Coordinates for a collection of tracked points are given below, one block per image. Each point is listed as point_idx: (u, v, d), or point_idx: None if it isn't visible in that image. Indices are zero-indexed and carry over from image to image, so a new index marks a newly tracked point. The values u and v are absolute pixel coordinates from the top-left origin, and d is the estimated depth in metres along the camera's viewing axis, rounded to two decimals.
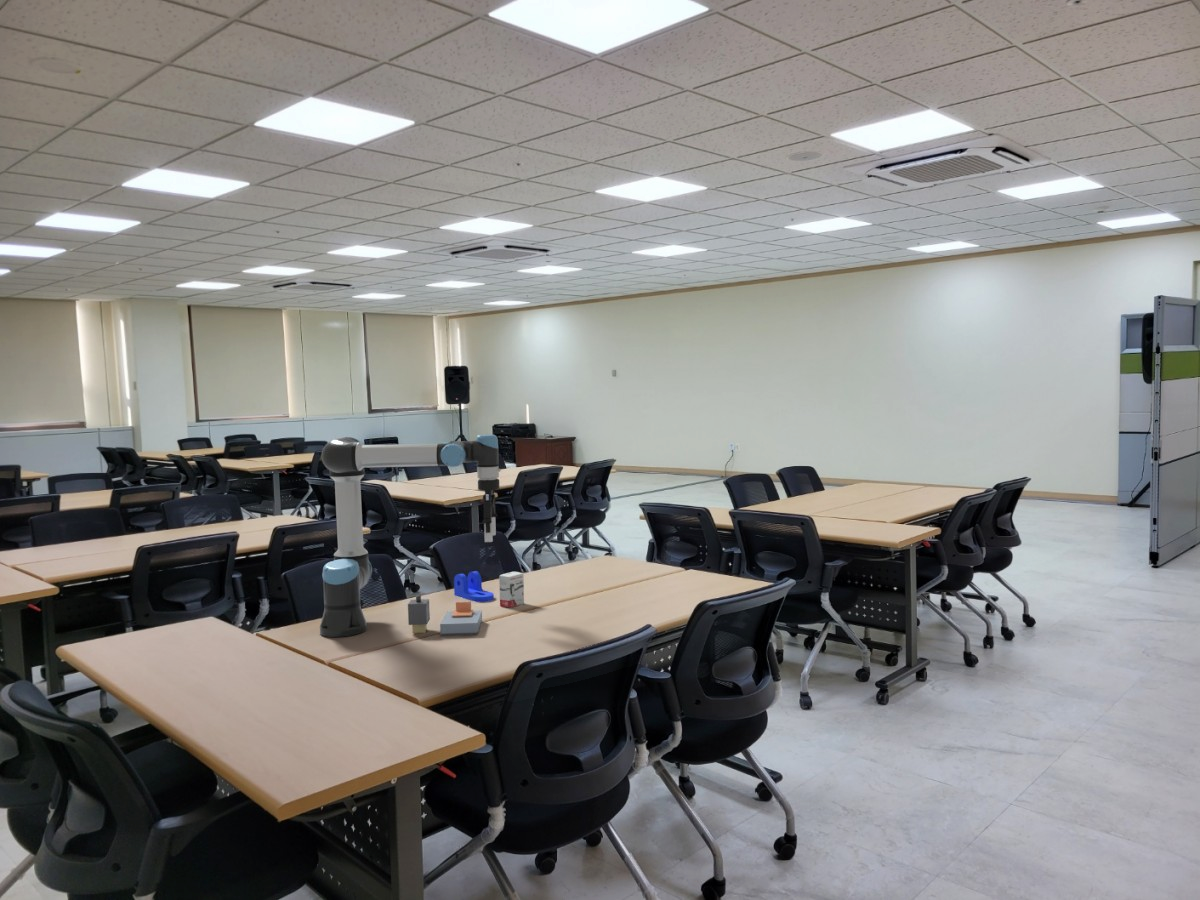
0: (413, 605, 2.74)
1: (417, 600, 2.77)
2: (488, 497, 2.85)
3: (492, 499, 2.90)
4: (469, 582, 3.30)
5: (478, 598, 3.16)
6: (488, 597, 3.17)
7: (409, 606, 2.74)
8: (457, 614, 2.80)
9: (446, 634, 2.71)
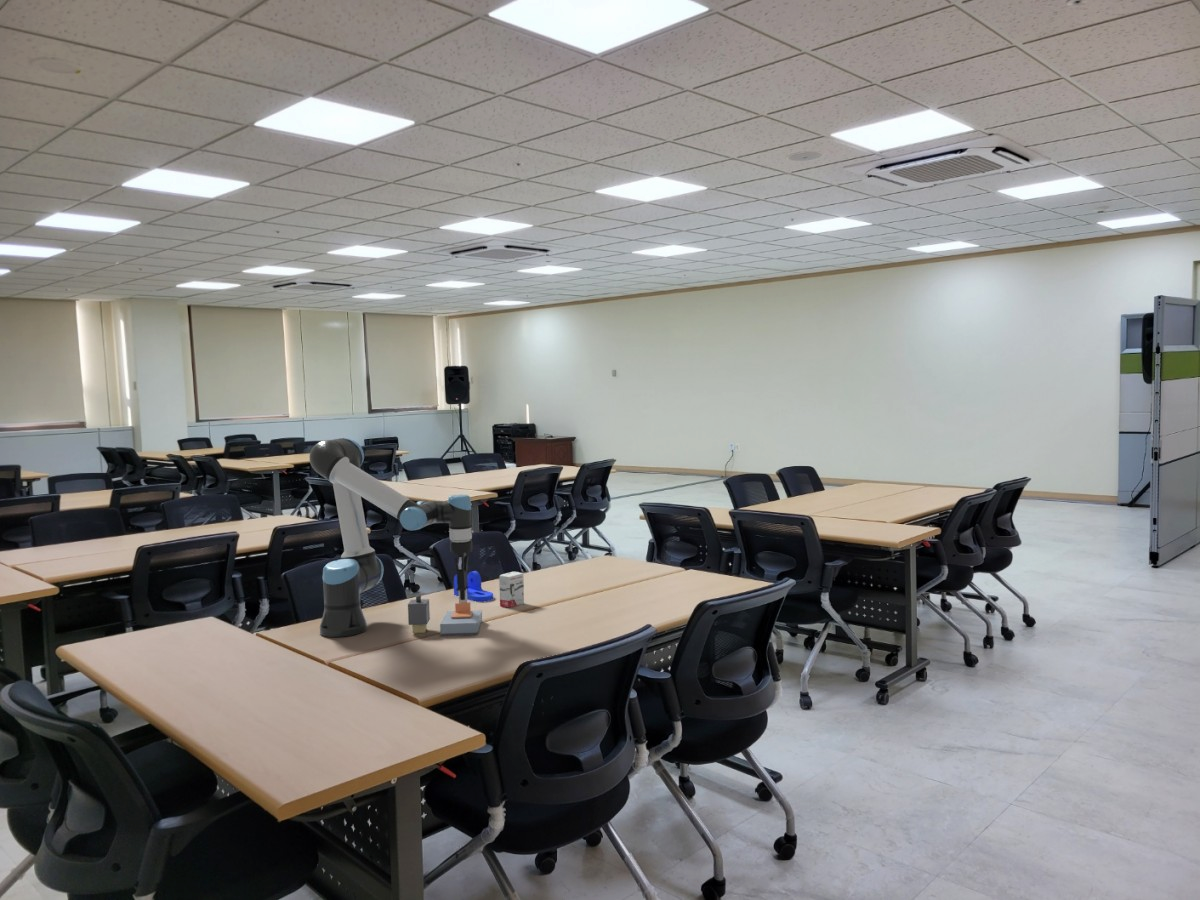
0: (413, 605, 2.74)
1: (417, 600, 2.77)
2: (461, 568, 2.78)
3: (465, 563, 2.82)
4: (469, 582, 3.30)
5: (478, 598, 3.16)
6: (488, 597, 3.17)
7: (409, 606, 2.74)
8: (456, 615, 2.78)
9: (446, 634, 2.71)
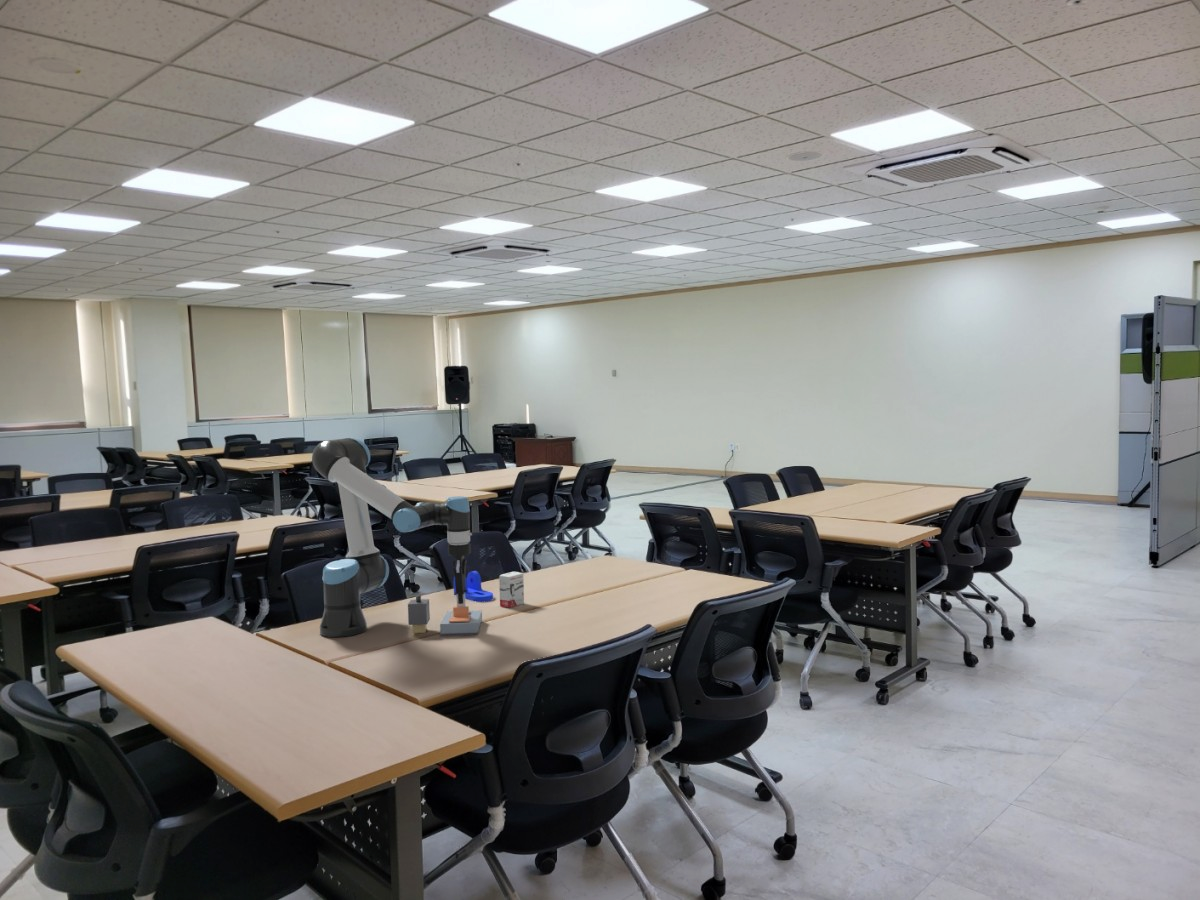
0: (413, 605, 2.74)
1: (417, 600, 2.77)
2: (459, 571, 2.73)
3: (463, 566, 2.77)
4: (469, 582, 3.31)
5: (477, 598, 3.16)
6: (487, 597, 3.17)
7: (409, 606, 2.74)
8: (454, 619, 2.73)
9: (446, 634, 2.71)
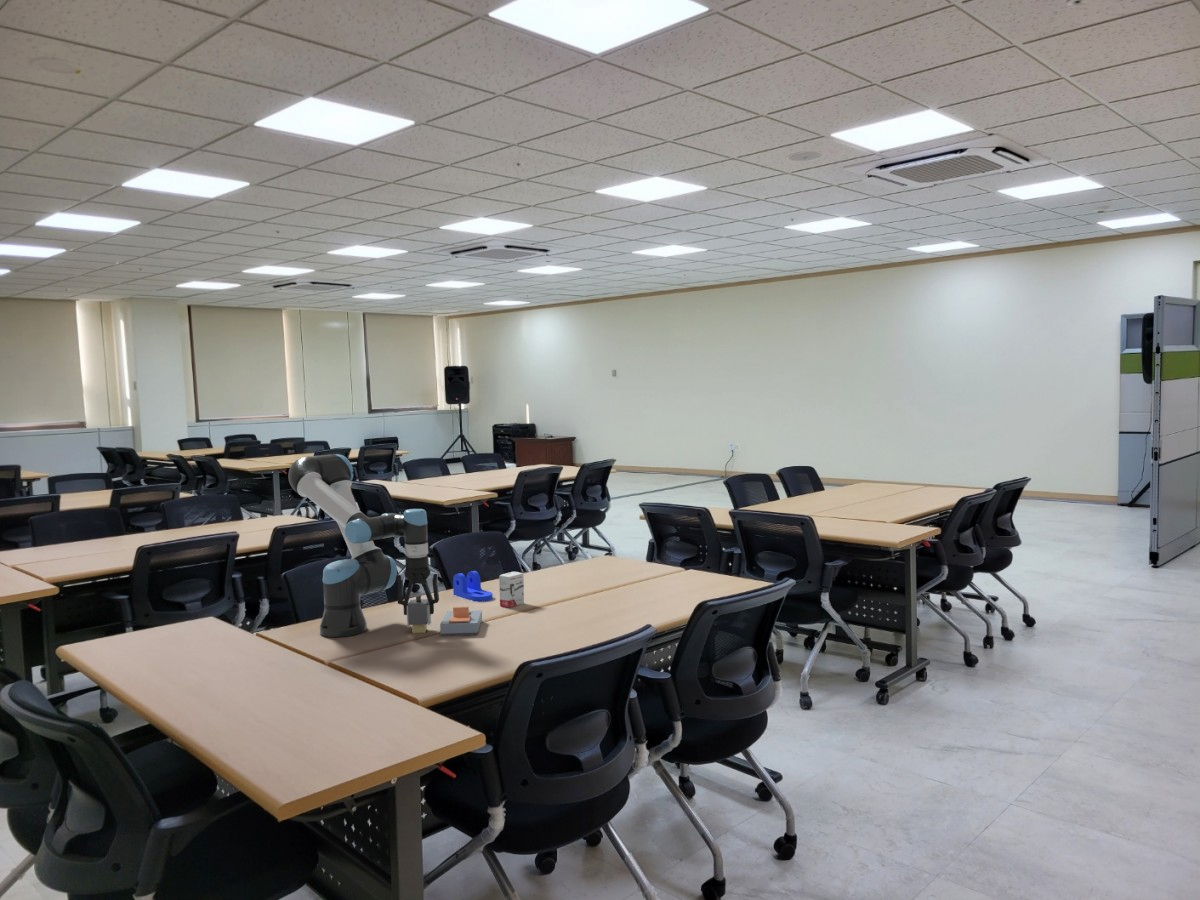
0: (413, 605, 2.74)
1: (417, 600, 2.77)
2: None
3: (410, 579, 2.75)
4: (468, 582, 3.31)
5: (477, 598, 3.16)
6: (487, 597, 3.17)
7: (409, 606, 2.74)
8: (454, 620, 2.73)
9: (446, 634, 2.71)
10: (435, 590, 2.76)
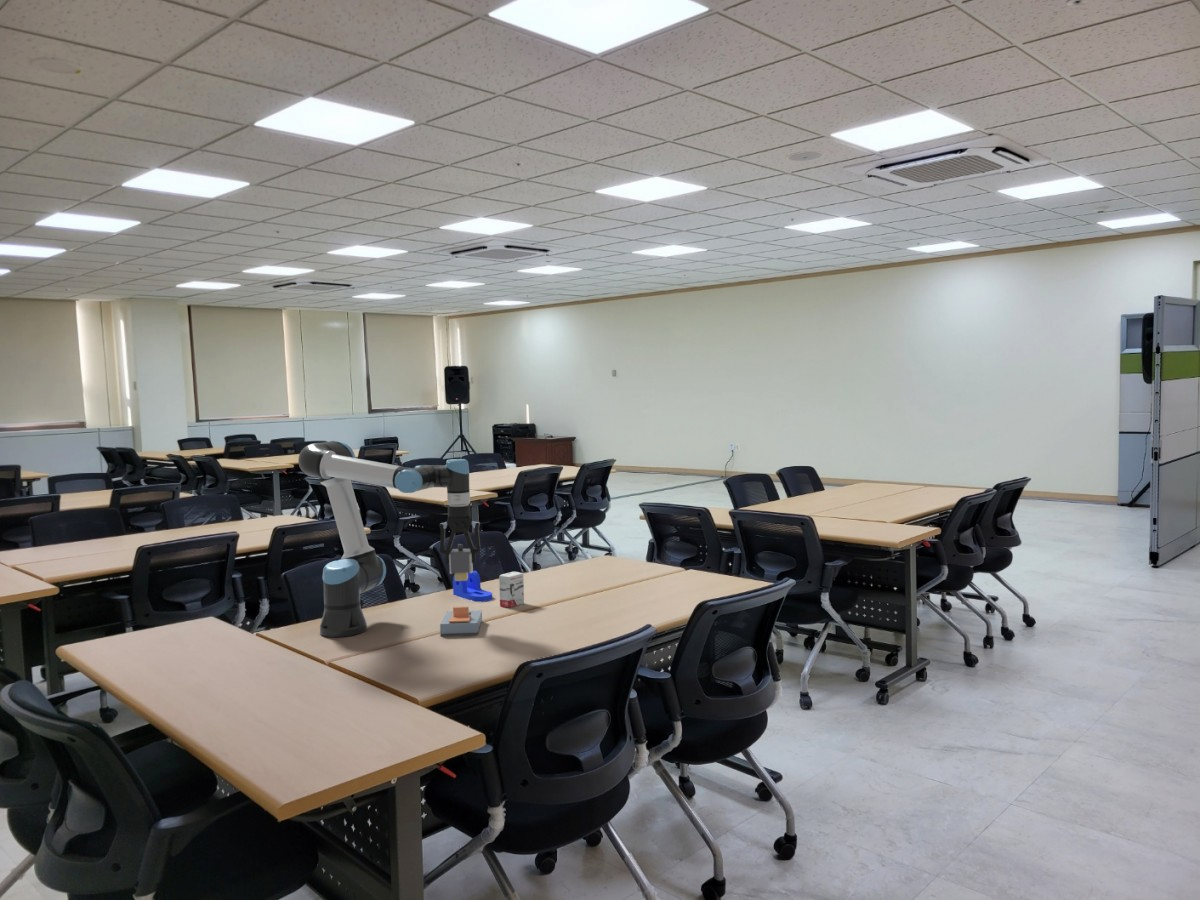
0: (455, 553, 2.78)
1: (459, 549, 2.80)
2: None
3: None
4: (468, 582, 3.31)
5: (477, 598, 3.17)
6: (487, 597, 3.17)
7: (452, 554, 2.78)
8: (454, 620, 2.73)
9: (446, 634, 2.71)
10: (477, 539, 2.80)
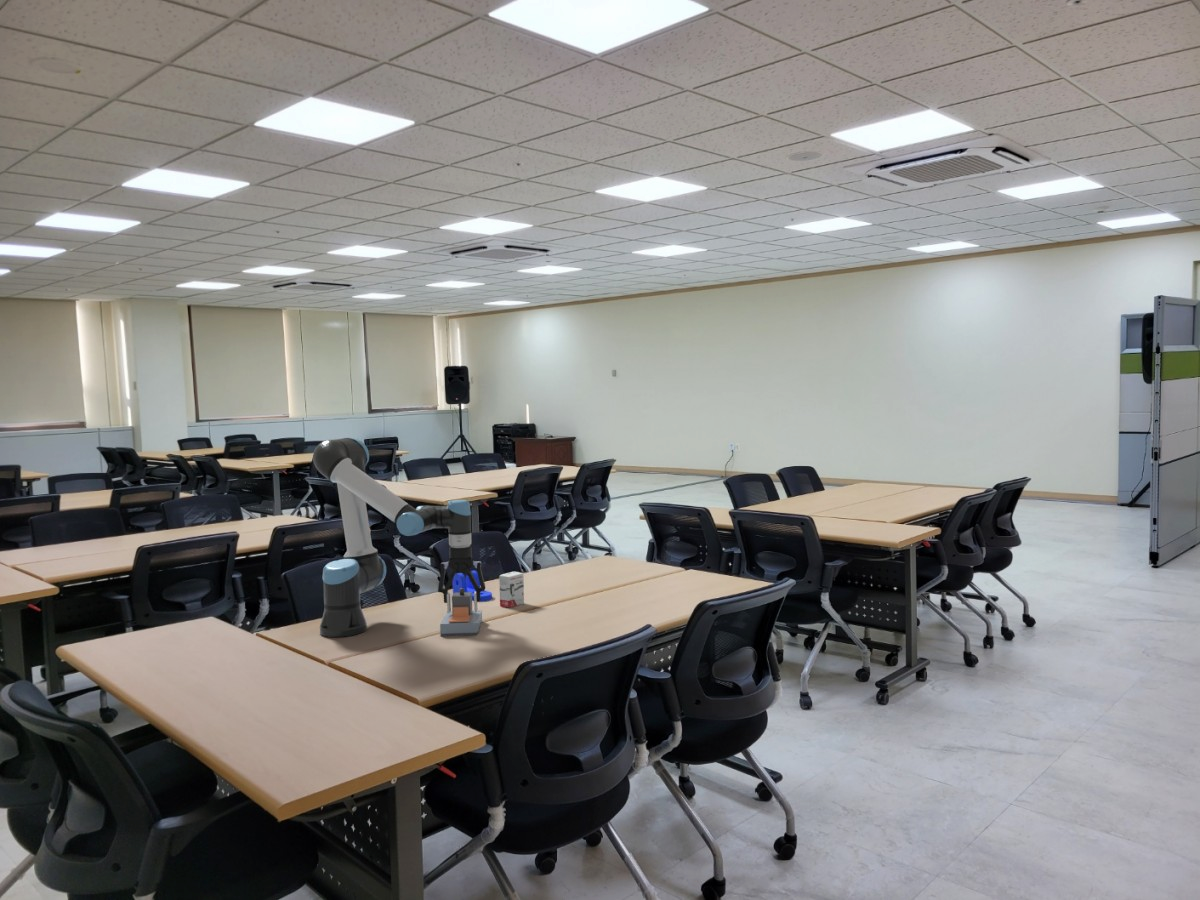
0: (457, 598, 2.79)
1: (461, 593, 2.81)
2: None
3: None
4: (468, 581, 3.31)
5: None
6: (486, 596, 3.17)
7: (453, 599, 2.79)
8: (454, 620, 2.73)
9: (446, 634, 2.71)
10: (480, 578, 2.81)
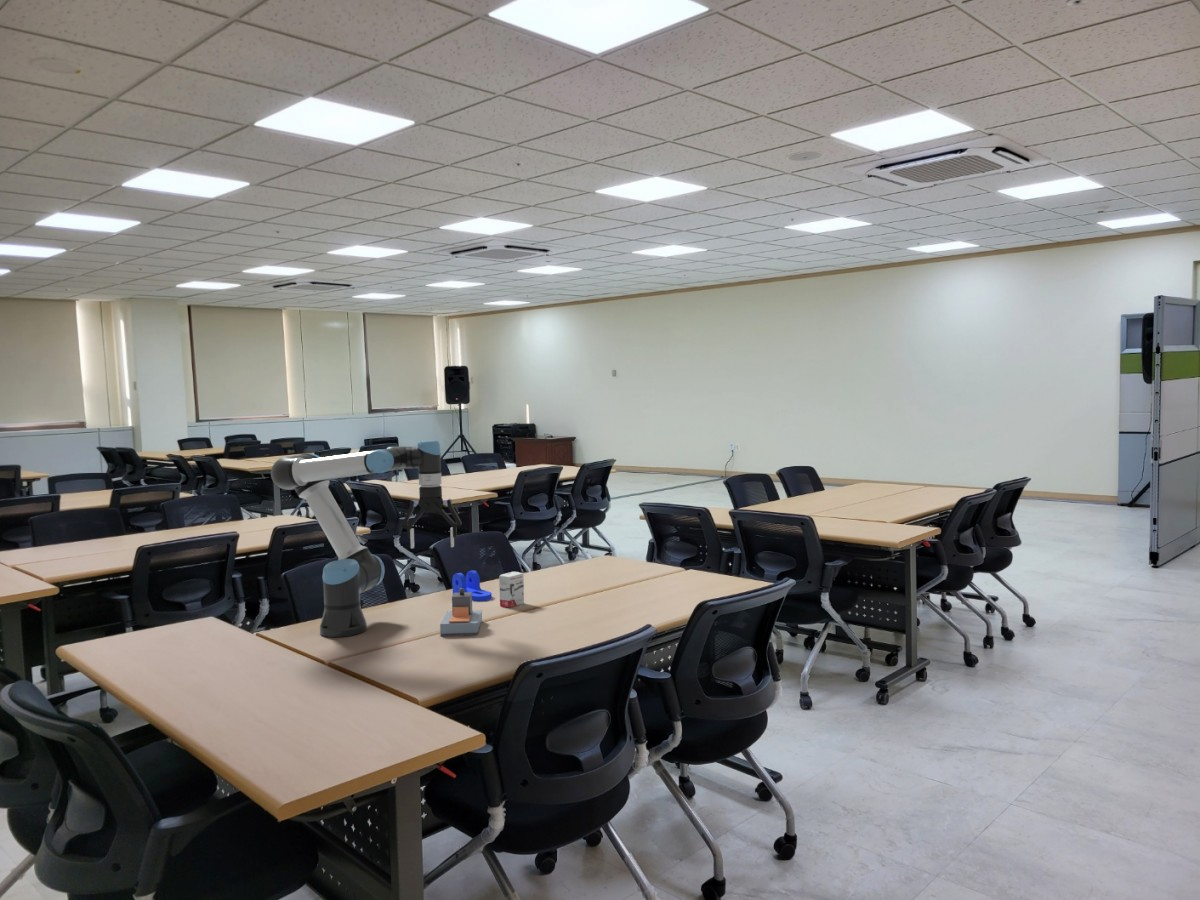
0: (457, 598, 2.79)
1: (461, 593, 2.81)
2: None
3: (422, 507, 2.82)
4: (467, 581, 3.31)
5: (476, 597, 3.17)
6: (486, 596, 3.18)
7: (453, 599, 2.79)
8: (454, 620, 2.73)
9: (446, 634, 2.71)
10: (454, 514, 2.83)
